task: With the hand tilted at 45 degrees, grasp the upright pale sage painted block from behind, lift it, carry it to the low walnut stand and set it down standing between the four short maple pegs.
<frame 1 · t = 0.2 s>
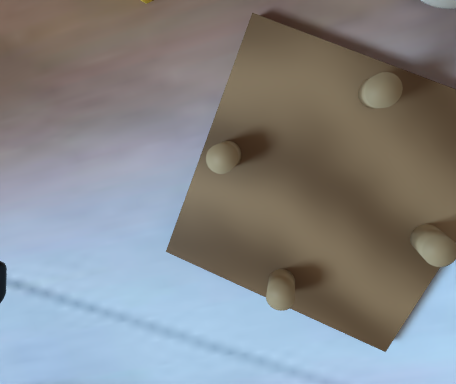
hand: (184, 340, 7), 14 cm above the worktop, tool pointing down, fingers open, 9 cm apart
peg stand: (322, 191, 20), on the worktop
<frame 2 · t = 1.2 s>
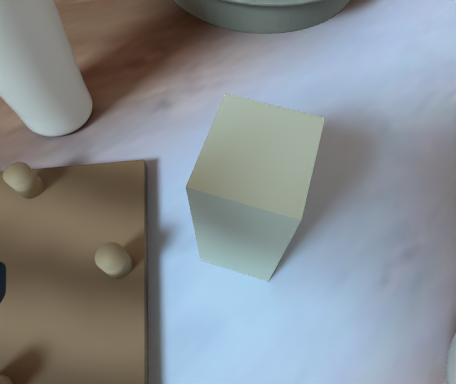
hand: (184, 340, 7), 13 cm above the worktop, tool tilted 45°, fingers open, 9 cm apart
sage block: (244, 235, 23), on the worktop
peg stand: (25, 280, 21), on the worktop
drinking glass: (62, 115, 27), on the worktop
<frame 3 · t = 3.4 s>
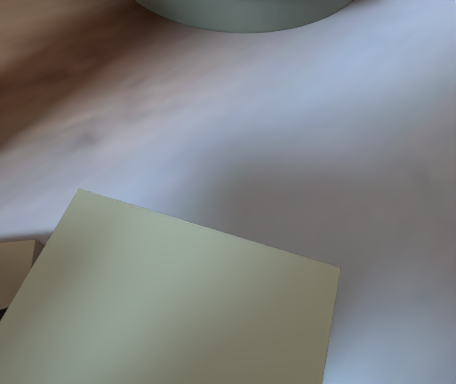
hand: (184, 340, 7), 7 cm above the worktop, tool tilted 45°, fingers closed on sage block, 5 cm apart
sage block: (194, 377, 13), on the worktop, touching gripper
when the fingers open (9 cm above the worktop, at t = 7.0 s): sage block stays where it is, resting on peg stand.
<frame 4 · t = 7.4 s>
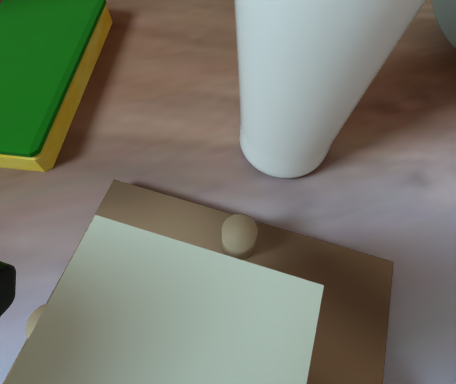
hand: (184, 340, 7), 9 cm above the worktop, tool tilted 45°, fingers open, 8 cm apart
sage block: (196, 378, 14), point 1 cm above the worktop, touching peg stand
peg stand: (197, 375, 15), on the worktop
drinking glass: (281, 147, 21), on the worktop
dish sponge: (40, 87, 24), on the worktop
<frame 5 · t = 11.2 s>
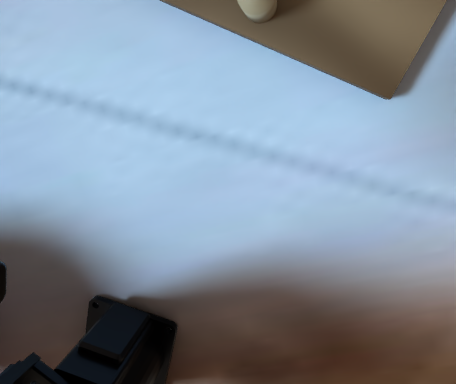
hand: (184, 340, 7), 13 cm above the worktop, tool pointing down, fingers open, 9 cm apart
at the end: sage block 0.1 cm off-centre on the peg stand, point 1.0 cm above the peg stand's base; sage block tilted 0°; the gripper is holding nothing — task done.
